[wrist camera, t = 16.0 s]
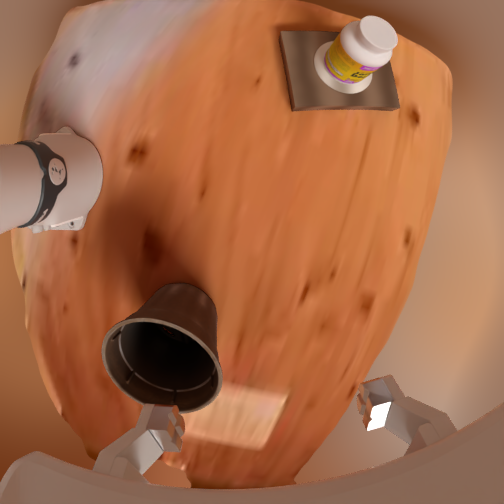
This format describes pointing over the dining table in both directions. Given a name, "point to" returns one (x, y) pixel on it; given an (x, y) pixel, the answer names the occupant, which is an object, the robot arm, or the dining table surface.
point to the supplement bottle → (360, 50)
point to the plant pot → (167, 350)
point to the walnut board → (322, 84)
